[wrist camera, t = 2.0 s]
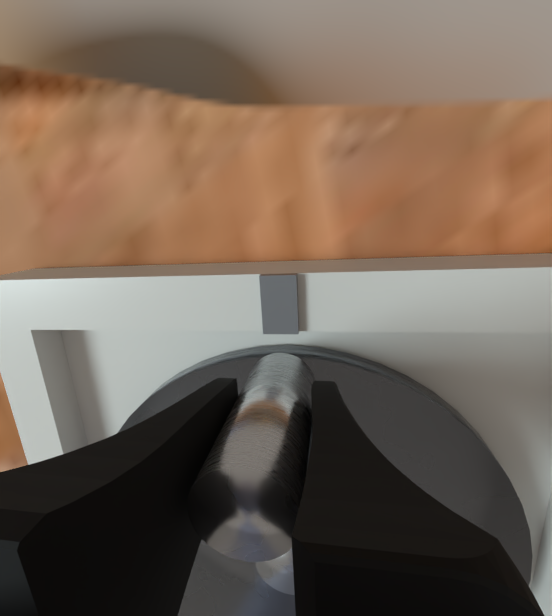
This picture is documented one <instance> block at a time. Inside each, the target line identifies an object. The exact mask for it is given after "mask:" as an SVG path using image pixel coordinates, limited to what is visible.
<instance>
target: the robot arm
mask: <svg viewBox="0 0 552 616" xmlns="http://www.w3.org/2000/svg"><path fill="white" fill-rule="evenodd" d="M237 398H238V387H237V378H217V379H215V380H213V381H211V382H209V383H208V384H206V385H204V386H203V387H201V388H199V389H198V390H196V391H194V392H193V393H191V394H190V395H188V396H186V397H185V398H183V399H181V400H180V401H178V402H176V403H175V404H173V405H171V406H170V407H168V408H166V409H164V410H162V411H161V412H159V413H157V414H155V415H153V416H152V417H150V418H148V419H146V420H144V421H142V422H140V423H138V424H136V425H134V426H132V427H130V428H128V429H126V430H124V431H121V432H119V433H117V434H115V435H113V436H110V437H108V438H105V439H103V440H100V441H98V442H95V443H92V444H90V445H87V446H84V447H82V448H79V449H76V450H74V451H71V452H68V453H65V454H62V455H59V456H56V457H53V458H50V459H47V460H44V461H40V462H37V463H33V464H30V465H26V466H23V467H19V468H15V469H12V470H8V471H4V472H0V616H178V613H179V609H180V606H181V603H182V599H183V596H184V593H185V589H186V586H187V583H188V580H189V576H190V573H191V570H192V567H193V564H194V561H195V558H196V554H197V551H198V548H199V545H200V542H201V540H202V539H201V537H200V536H199V535H198V534H197V533H196V531H195V530H194V528H193V526H192V524H191V522H190V520H189V517H188V513H187V499H188V494H189V492H190V490H191V488H192V486H193V484H194V482H195V480H196V478H197V476H198V474H199V472H200V470H201V468H202V466H203V464H204V462H205V460H206V458H207V456H208V454H209V453H210V451H211V449H212V447H213V445H214V443H215V441H216V439H217V437H218V435H219V433H220V431H221V429H222V427H223V425H224V423H225V421H226V419H227V417H228V415H229V413H230V411H231V410H232V408H233V406H234V404H235V402H236V400H237ZM311 403H312V442H311V449H310V456H309V461H308V467H307V473H306V478H305V483H304V488H303V493H302V497H301V501H300V505H299V509H298V513H297V517H296V521H295V525H294V529H293V532H292V535H291V538H292V556H293V575H294V594H295V613H296V616H544V614H543V612H542V610H541V608H540V606H539V604H538V602H537V600H536V598H535V596H534V594H533V593H532V591H531V589H530V588H529V586H528V584H527V583H526V581H525V580H524V578H523V576H522V575H521V573H520V572H519V570H518V568H517V567H516V565H515V564H514V562H513V561H512V559H511V558H510V556H509V555H508V553H507V552H506V550H505V549H504V547H503V546H502V544H501V542H500V541H499V540H498V539H497V538H496V537H494V536H492V535H491V534H489V533H487V532H486V531H484V530H483V529H481V528H479V527H478V526H476V525H474V524H473V523H471V522H470V521H468V520H466V519H465V518H463V517H461V516H460V515H458V514H457V513H455V512H453V511H452V510H450V509H449V508H447V507H446V506H444V505H443V504H442V503H440V502H439V501H437V500H436V499H435V498H433V497H432V496H431V495H429V494H428V493H426V492H425V491H424V490H422V489H421V488H420V487H419V486H417V485H416V484H415V483H414V482H412V481H411V480H410V479H409V478H408V477H407V476H405V475H404V474H403V473H402V472H401V471H400V470H398V469H397V468H396V467H395V466H394V465H393V464H392V463H391V462H390V461H389V460H388V459H387V458H386V457H385V456H384V455H383V454H382V453H381V452H380V451H379V450H378V449H377V447H376V446H375V445H374V444H373V443H372V442H371V440H370V439H369V438H368V437H367V435H366V434H365V433H364V431H363V430H362V429H361V427H360V426H359V425H358V423H357V422H356V420H355V419H354V417H353V416H352V414H351V413H350V411H349V409H348V408H347V406H346V404H345V403H344V401H343V399H342V397H341V395H340V392H339V390H338V387H337V384H336V383H335V382H334V381H313V384H312V388H311Z"/></svg>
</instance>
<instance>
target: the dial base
mask: <svg viewBox="0 0 552 616" xmlns="http://www.w3.org/2000/svg"><path fill="white" fill-rule="evenodd" d="M277 345H293V346H308V347H319V348H324V349H330V350H335V351H340V352H346V353H349V354H353V355H356V356H359V357H362V358H365V359H369V360H372V361H375V362H378V363H380V364H382V365H385V366H387V367H389V368H391V369H394V370H396V371H398V372H400V373H402V374H405V375H407V376H409V377H410V378H412V379H413V380H415V381H417V382H418V383H420V384H422V385H423V386H425V387H427V388H428V389H430V390H432V391H433V392H435V393H436V394H437V395H438V396H440V397H441V398H442V399H443V400H445V401H446V402H447V403H448V404H450V405H451V406H452V407H453V408H455V409H456V410H457V411H458V412H459V413H460V414H461V415H462V416H463V417H464V418H465V419H466V420H467V421H468V422H469V423H470V424H471V425H472V427H473V428H474V429H475V430H476V431H477V432H478V433H479V434H480V436H481V437H482V439H483V440H484V441H485V443H486V444H487V446H488V447H489V449H490V450H491V451H492V453H493V454H494V456H495V457H496V459H497V460H498V462H499V463H500V465H501V466H502V468H503V470H504V471H505V473H506V474H507V476H508V477H509V479H510V481H511V483H512V485H513V487H514V489H515V491H516V493H517V495H518V497H519V499H520V501H521V503H522V505H523V509H524V512H525V516H526V519H527V522H528V526H529V529H530V536H531V546H532V555H533V557H532V568H531V580H530V583H529V588H530V589H531V591H532V593H533V594H534V596H535V598H536V600H537V602H538V604H539V606H540V608H541V610H542V612H543V614H544V616H552V253H539V254H506V255H472V256H439V257H405V258H372V259H338V260H305V261H271V262H238V263H204V264H171V265H137V266H103V267H70V268H36V269H29V270H24V271H19V272H14V273H9V274H4V275H0V372H1V375H2V379H3V382H4V385H5V389H6V392H7V395H8V399H9V402H10V405H11V409H12V412H13V415H14V419H15V422H16V425H17V429H18V432H19V435H20V439H21V442H22V445H23V449H24V452H25V455H26V459H27V462H28V465H30V464H33V463H37V462H40V461H44V460H47V459H50V458H53V457H56V456H59V455H62V454H65V453H68V452H71V451H74V450H76V449H79V448H82V447H84V446H87V445H90V444H92V443H95V442H98V441H100V440H103V439H105V438H108V437H110V436H113V435H115V434H117V433H118V431H119V430H120V429H121V427H122V426H123V425H124V423H125V422H126V420H127V419H128V418H129V416H130V415H131V414H132V413H133V412H134V411H135V410H136V409H137V408H138V407H139V406H140V405H141V404H142V403H143V402H144V401H145V400H146V399H147V398H148V397H149V396H150V395H151V394H152V393H153V392H154V391H155V390H156V389H158V388H159V387H160V386H161V385H162V384H163V383H165V382H166V381H168V380H169V379H170V378H172V377H173V376H175V375H176V374H178V373H179V372H181V371H183V370H185V369H187V368H189V367H191V366H193V365H195V364H197V363H199V362H201V361H203V360H206V359H209V358H212V357H215V356H218V355H221V354H224V353H227V352H231V351H236V350H241V349H247V348H252V347H260V346H277Z"/></svg>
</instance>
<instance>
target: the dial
mask: <svg viewBox="0 0 552 616" xmlns="http://www.w3.org/2000/svg"><path fill="white" fill-rule="evenodd" d="M217 378H237V387H238V398H237V400H236V402H235V404H234V406H233V408H232V410H231V411H230V413H229V415H228V417H227V419H226V421H225V423H224V425H223V427H222V429H221V431H220V433H219V435H218V437H217V439H216V441H215V443H214V445H213V447H212V449H211V451H210V453H209V454H208V456H207V458H206V460H205V462H204V464H203V466H202V468H201V470H200V472H199V474H198V476H197V478H196V480H195V482H194V484H193V486H192V488H191V490H190V492H189V494H188V499H187V513H188V517H189V520H190V522H191V524H192V526H193V528H194V530H195V531H196V533H197V534H198V535H199V536H200V537H201V539H202V540H201V542H200V545H199V548H198V551H197V554H196V558H195V561H194V564H193V567H192V570H191V573H190V576H189V580H188V583H187V586H186V589H185V593H184V596H183V599H182V603H181V606H180V609H179V613H178V616H296V613H295V594H294V575H293V556H292V538H291V535H292V532H293V529H294V525H295V521H296V517H297V513H298V509H299V505H300V501H301V497H302V493H303V488H304V483H305V478H306V473H307V467H308V461H309V456H310V449H311V442H312V403H311V388H312V384H313V381H334V382H335V383H336V384H337V387H338V390H339V392H340V395H341V397H342V399H343V401H344V403H345V404H346V406H347V408H348V409H349V411H350V413H351V414H352V416H353V417H354V419H355V420H356V422H357V423H358V425H359V426H360V427H361V429H362V430H363V431H364V433H365V434H366V435H367V437H368V438H369V439H370V440H371V442H372V443H373V444H374V445H375V446H376V447H377V449H378V450H379V451H380V452H381V453H382V454H383V455H384V456H385V457H386V458H387V459H388V460H389V461H390V462H391V463H392V464H393V465H394V466H395V467H396V468H397V469H398V470H400V471H401V472H402V473H403V474H404V475H405V476H407V477H408V478H409V479H410V480H411V481H412V482H414V483H415V484H416V485H417V486H419V487H420V488H421V489H422V490H424V491H425V492H426V493H428V494H429V495H431V496H432V497H433V498H435V499H436V500H437V501H439V502H440V503H442V504H443V505H444V506H446V507H447V508H449V509H450V510H452V511H453V512H455V513H457V514H458V515H460V516H461V517H463V518H465V519H466V520H468V521H470V522H471V523H473V524H474V525H476V526H478V527H479V528H481V529H483V530H484V531H486V532H487V533H489V534H491V535H492V536H494V537H496V538H497V539H498V540H499V541H500V542H501V544H502V546H503V547H504V549H505V550H506V552H507V553H508V555H509V556H510V558H511V559H512V561H513V562H514V564H515V565H516V567H517V568H518V570H519V572H520V573H521V575H522V576H523V578H524V580H525V581H526V583H527V584H528V586H529V583H530V580H531V568H532V557H533V555H532V546H531V536H530V529H529V526H528V522H527V519H526V516H525V512H524V509H523V505H522V503H521V501H520V499H519V497H518V495H517V493H516V491H515V489H514V487H513V485H512V483H511V481H510V479H509V477H508V476H507V474H506V473H505V471H504V470H503V468H502V466H501V465H500V463H499V462H498V460H497V459H496V457H495V456H494V454H493V453H492V451H491V450H490V449H489V447H488V446H487V444H486V443H485V441H484V440H483V439H482V437H481V436H480V434H479V433H478V432H477V431H476V430H475V429H474V428H473V427H472V425H471V424H470V423H469V422H468V421H467V420H466V419H465V418H464V417H463V416H462V415H461V414H460V413H459V412H458V411H457V410H456V409H455V408H453V407H452V406H451V405H450V404H448V403H447V402H446V401H445V400H443V399H442V398H441V397H440V396H438V395H437V394H436V393H435V392H433V391H432V390H430V389H428V388H427V387H425V386H423V385H422V384H420V383H418V382H417V381H415V380H413V379H412V378H410V377H409V376H407V375H405V374H402V373H400V372H398V371H396V370H394V369H391V368H389V367H387V366H385V365H382V364H380V363H378V362H375V361H372V360H369V359H365V358H362V357H359V356H356V355H353V354H349V353H346V352H340V351H335V350H330V349H324V348H319V347H308V346H293V345H277V346H260V347H252V348H247V349H241V350H236V351H231V352H227V353H224V354H221V355H218V356H215V357H212V358H209V359H206V360H203V361H201V362H199V363H197V364H195V365H193V366H191V367H189V368H187V369H185V370H183V371H181V372H179V373H178V374H176V375H175V376H173V377H172V378H170V379H169V380H168V381H166V382H165V383H163V384H162V385H161V386H160V387H159V388H158V389H156V390H155V391H154V392H153V393H152V394H151V395H150V396H149V397H148V398H147V399H146V400H145V401H144V402H143V403H142V404H141V405H140V406H139V407H138V408H137V409H136V410H135V411H134V412H133V413H132V414H131V415H130V416H129V418H128V419H127V420H126V422H125V423H124V425H123V426H122V427H121V429H120V430H119V431H118V433H119V432H121V431H124V430H126V429H128V428H130V427H132V426H134V425H136V424H138V423H140V422H142V421H144V420H146V419H148V418H150V417H152V416H153V415H155V414H157V413H159V412H161V411H162V410H164V409H166V408H168V407H170V406H171V405H173V404H175V403H176V402H178V401H180V400H181V399H183V398H185V397H186V396H188V395H190V394H191V393H193V392H194V391H196V390H198V389H199V388H201V387H203V386H204V385H206V384H208V383H209V382H211V381H213V380H215V379H217Z"/></svg>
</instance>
